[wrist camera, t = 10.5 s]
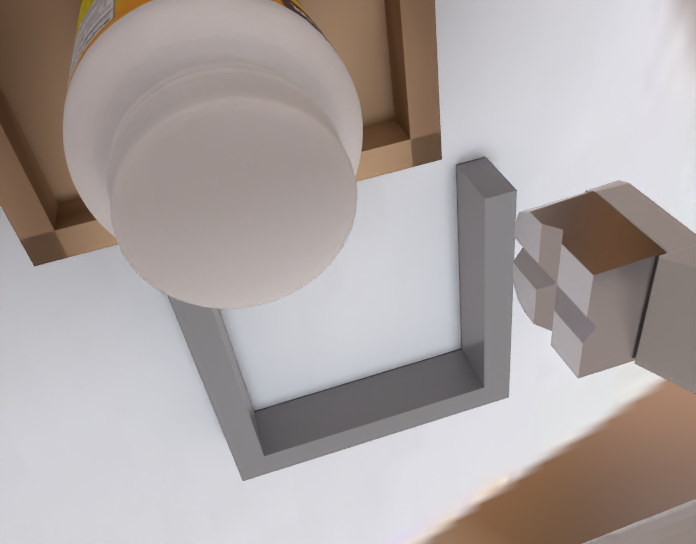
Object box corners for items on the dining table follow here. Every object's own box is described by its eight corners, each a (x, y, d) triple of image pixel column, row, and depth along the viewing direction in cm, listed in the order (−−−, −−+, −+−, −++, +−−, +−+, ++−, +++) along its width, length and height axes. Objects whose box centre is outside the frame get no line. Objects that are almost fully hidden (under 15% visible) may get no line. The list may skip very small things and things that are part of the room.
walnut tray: (41, 221, 22) (34, 266, 20) (-166, -178, 15) (-208, -169, 13) (414, 126, 24) (441, 159, 22) (386, -273, 17) (422, -277, 15)
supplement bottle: (323, -11, 19) (471, 153, 11) (226, 147, 21) (292, 378, 13) (137, -141, 16) (160, -43, 8) (45, 58, 18) (-8, 289, 10)
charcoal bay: (235, 436, 31) (242, 481, 29) (160, 243, 24) (164, 286, 22) (485, 359, 32) (508, 397, 30) (486, 157, 25) (516, 190, 23)
